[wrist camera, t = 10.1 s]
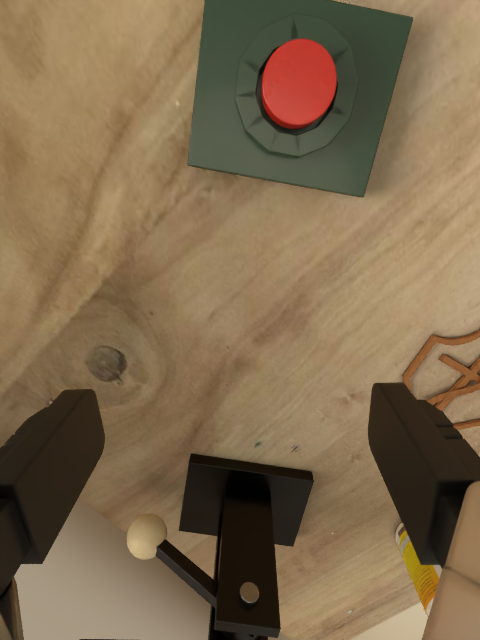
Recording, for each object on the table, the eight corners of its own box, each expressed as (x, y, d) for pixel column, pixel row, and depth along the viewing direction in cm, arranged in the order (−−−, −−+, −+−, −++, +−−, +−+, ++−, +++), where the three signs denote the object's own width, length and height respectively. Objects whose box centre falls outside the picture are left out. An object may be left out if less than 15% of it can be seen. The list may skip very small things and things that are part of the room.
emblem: (457, 305, 29) (462, 307, 28) (549, 362, 31) (556, 366, 30) (366, 413, 33) (368, 417, 32) (452, 459, 35) (456, 464, 34)
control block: (191, 166, 26) (182, 164, 22) (211, -7, 22) (203, -45, 19) (354, 196, 26) (372, 198, 23) (399, 31, 23) (428, 2, 19)
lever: (146, 525, 34) (117, 551, 31) (149, 498, 33) (119, 523, 30) (265, 625, 28) (241, 669, 25) (274, 597, 27) (250, 639, 24)
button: (255, 122, 22) (256, 117, 20) (268, 43, 20) (270, 31, 19) (320, 135, 22) (326, 131, 20) (338, 57, 20) (346, 46, 19)
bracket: (180, 520, 38) (150, 674, 26) (190, 453, 35) (161, 593, 23) (291, 536, 39) (311, 694, 27) (311, 471, 36) (344, 618, 24)
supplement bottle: (400, 554, 40) (448, 672, 30) (387, 518, 38) (435, 633, 28) (452, 541, 39) (519, 659, 29) (442, 504, 37) (510, 617, 27)
